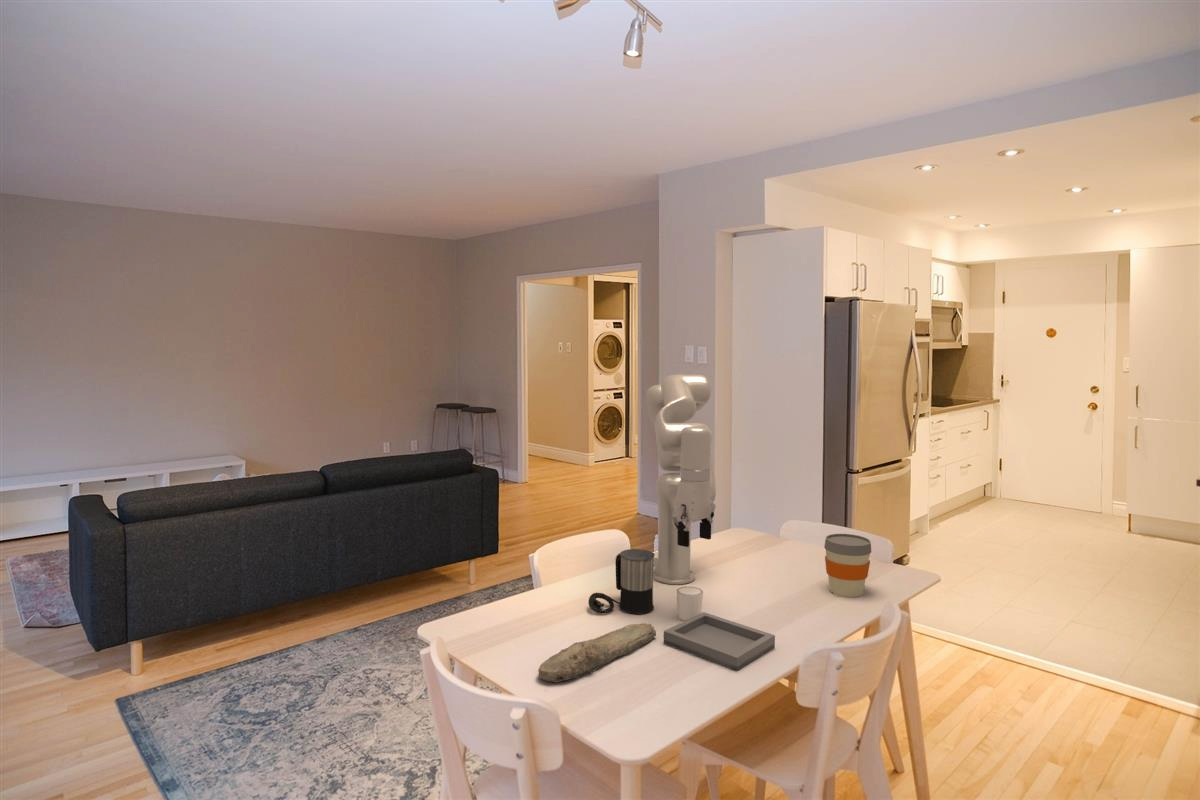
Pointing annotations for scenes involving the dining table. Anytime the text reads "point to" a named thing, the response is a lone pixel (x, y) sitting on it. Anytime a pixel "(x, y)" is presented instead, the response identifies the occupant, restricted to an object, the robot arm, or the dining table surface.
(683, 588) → the white cup
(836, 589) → the reusable coffee cup
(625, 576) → the milk frother
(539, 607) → the dining table surface
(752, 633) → the serving tray
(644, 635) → the elongated rock
